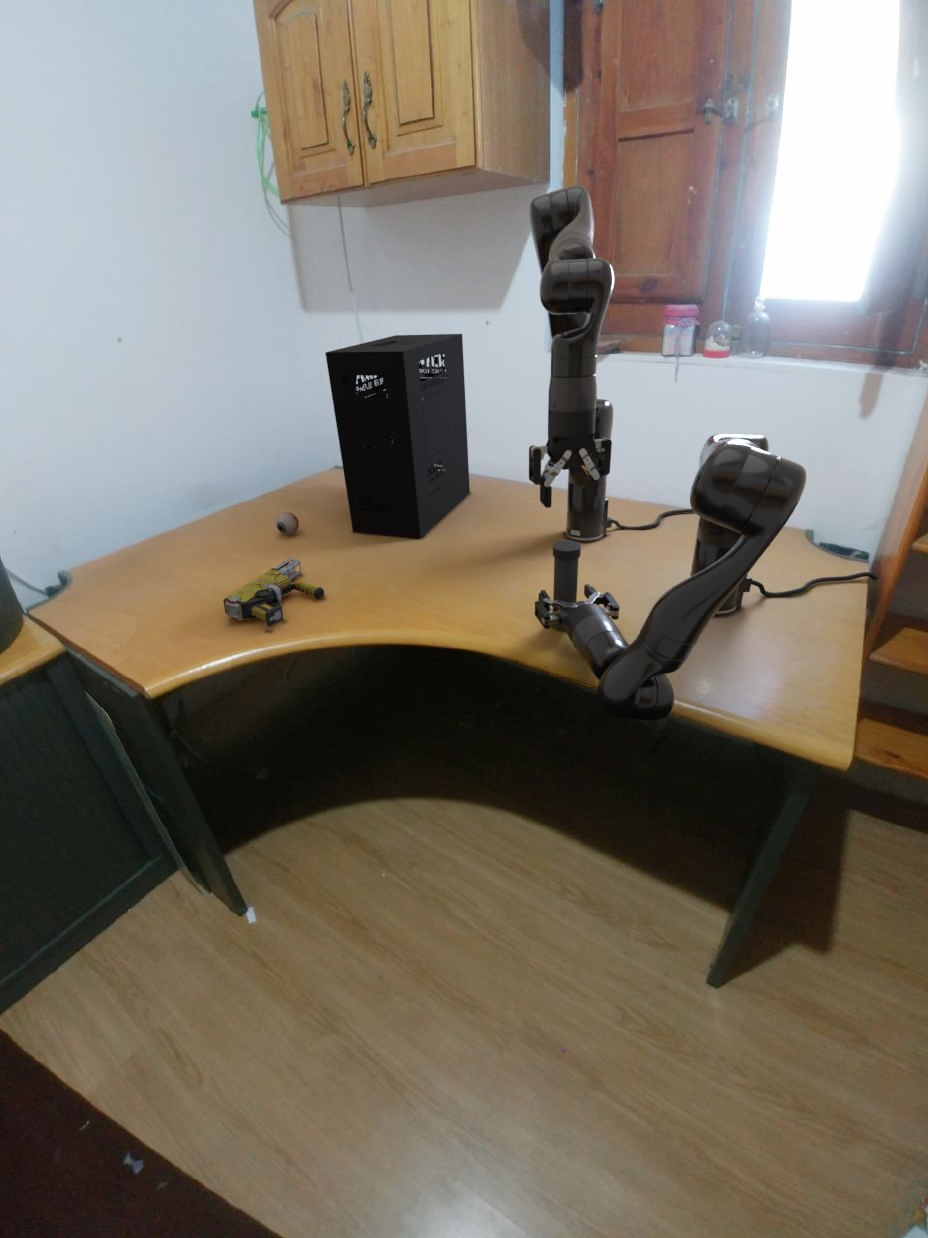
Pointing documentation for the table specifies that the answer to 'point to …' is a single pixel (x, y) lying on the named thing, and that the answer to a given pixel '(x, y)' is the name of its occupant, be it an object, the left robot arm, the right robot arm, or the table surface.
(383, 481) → the cardboard box
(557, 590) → the grey cylindrical tube
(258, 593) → the toy gun
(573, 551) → the lid
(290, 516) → the eyeball
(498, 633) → the table surface
